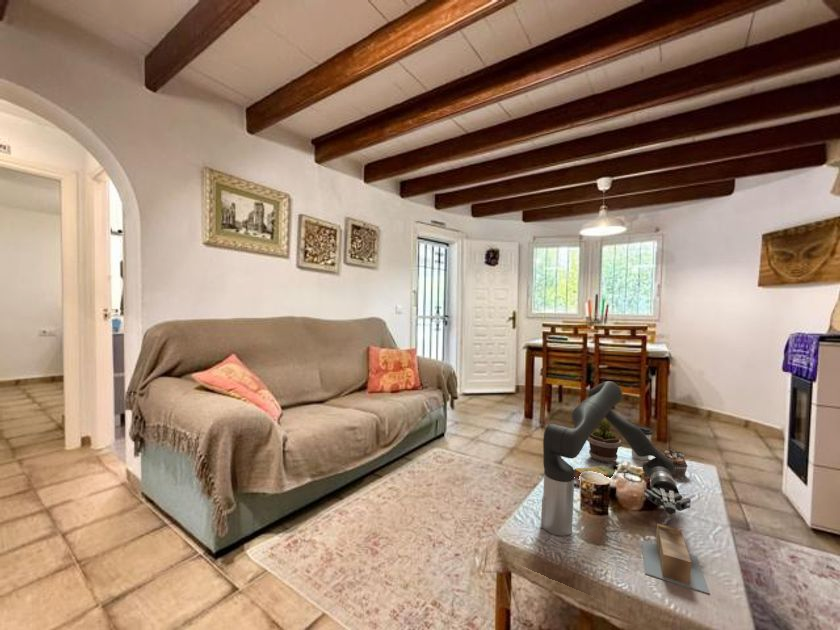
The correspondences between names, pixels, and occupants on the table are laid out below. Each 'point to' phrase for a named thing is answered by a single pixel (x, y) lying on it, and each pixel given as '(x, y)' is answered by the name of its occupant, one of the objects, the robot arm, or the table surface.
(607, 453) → the flowerpot
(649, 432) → the coffee cup
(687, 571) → the walnut block
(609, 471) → the carton
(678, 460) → the cupcake
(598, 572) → the table surface
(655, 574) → the slate mat
